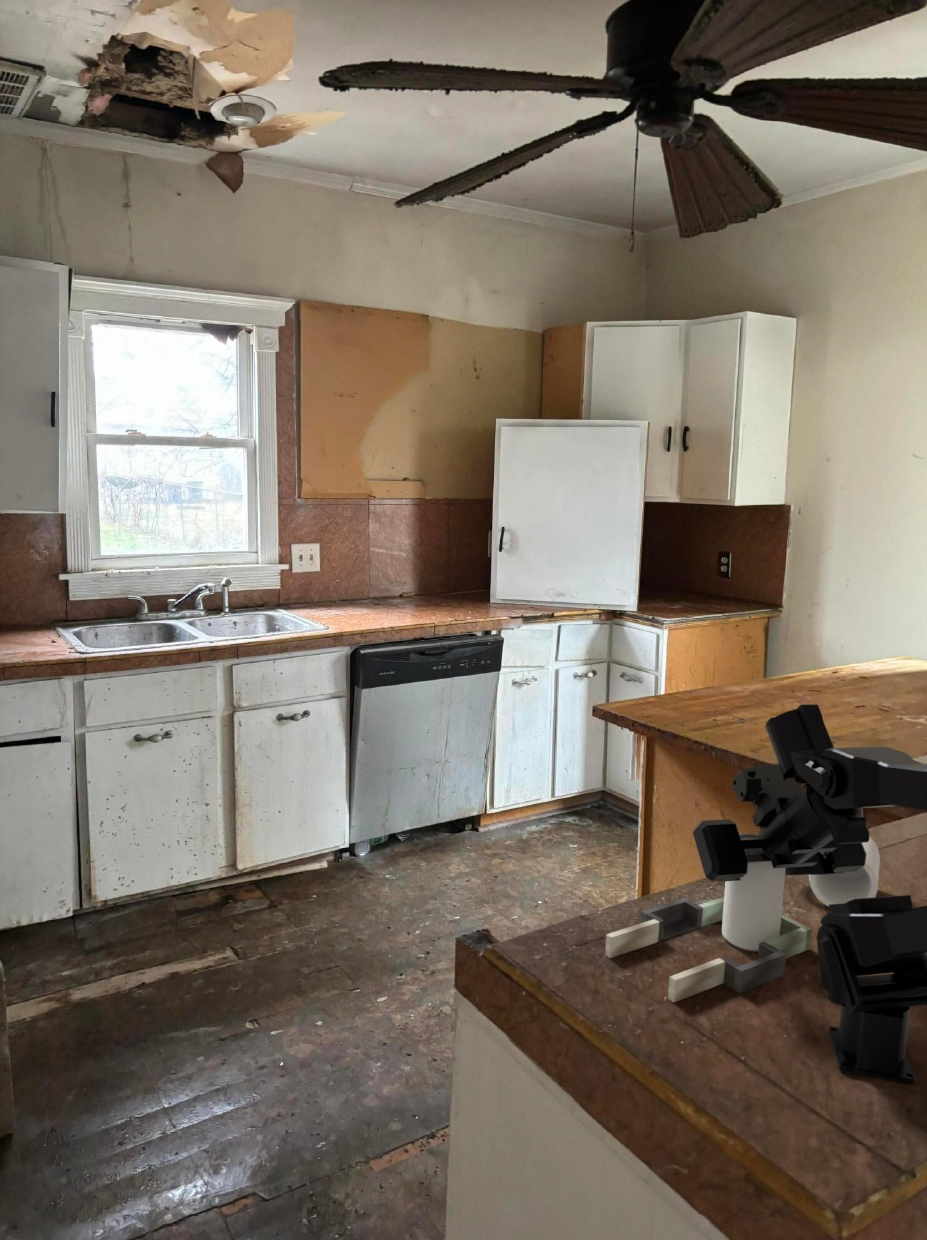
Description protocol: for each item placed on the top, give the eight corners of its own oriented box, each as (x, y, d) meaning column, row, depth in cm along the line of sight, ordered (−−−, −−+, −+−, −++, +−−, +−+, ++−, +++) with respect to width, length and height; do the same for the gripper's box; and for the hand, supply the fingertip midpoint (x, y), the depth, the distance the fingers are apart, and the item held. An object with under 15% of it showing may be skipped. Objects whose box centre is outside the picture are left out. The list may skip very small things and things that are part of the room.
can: (787, 939, 104) (796, 842, 103) (765, 960, 100) (774, 859, 98) (735, 920, 109) (742, 827, 107) (711, 939, 104) (719, 843, 102)
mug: (876, 888, 119) (882, 832, 118) (874, 919, 110) (880, 859, 109) (783, 868, 124) (787, 814, 123) (773, 897, 115) (778, 839, 114)
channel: (689, 1014, 89) (691, 991, 88) (592, 946, 101) (593, 926, 101) (826, 958, 100) (828, 937, 100) (723, 903, 113) (725, 885, 113)
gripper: (860, 747, 99) (795, 806, 111) (707, 752, 95) (657, 813, 107) (901, 842, 92) (827, 893, 104) (738, 852, 88) (681, 904, 101)
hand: (747, 873), depth 104 cm, fingers open, 9 cm apart
